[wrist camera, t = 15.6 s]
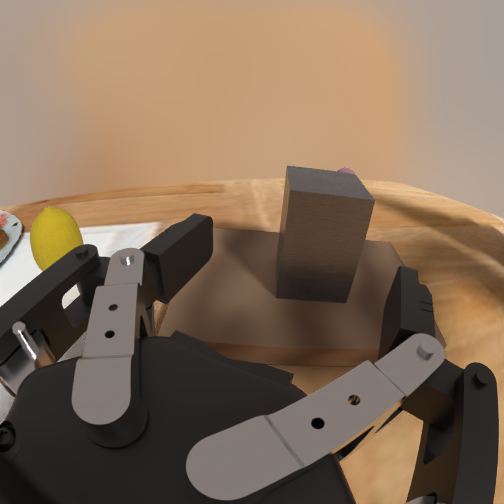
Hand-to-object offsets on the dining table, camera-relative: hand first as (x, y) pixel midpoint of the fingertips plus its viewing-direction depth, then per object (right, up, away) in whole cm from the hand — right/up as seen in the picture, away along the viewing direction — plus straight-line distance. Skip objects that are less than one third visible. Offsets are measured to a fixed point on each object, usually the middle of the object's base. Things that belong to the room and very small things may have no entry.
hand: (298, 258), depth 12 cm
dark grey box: (+3, -2, +14) cm, 15 cm away
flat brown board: (+3, -4, +15) cm, 16 cm away
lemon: (-21, -3, +15) cm, 26 cm away
